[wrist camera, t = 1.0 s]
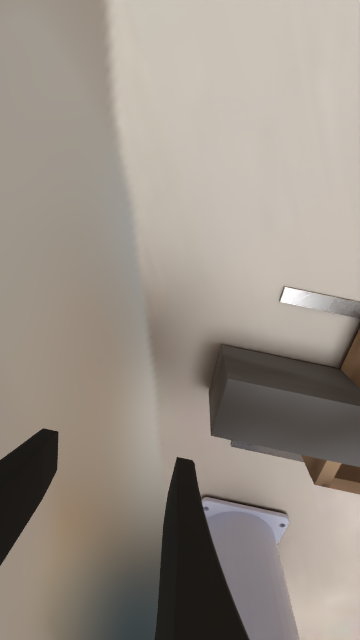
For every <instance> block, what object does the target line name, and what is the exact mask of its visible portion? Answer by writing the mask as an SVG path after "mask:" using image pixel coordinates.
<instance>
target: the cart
mask: <svg viewBox="0 0 360 640" xmlns="http://www.w3.org/2000/svg"><path fill="white" fill-rule="evenodd" d="M209 404H210V425H211V436H215V437H220V438H225V439H229V440H234V441H239V442H244V443H248V444H253V445H258V446H262V447H267V448H272V449H276V450H281V451H286V452H291V453H295V454H300V455H301V456H302V458H303V460H304V463H305V465H306V467H307V469H308V471H309V474H310V476H311V478H312V480H313V482H314V485H319V486H323V487H328V488H333V489H337V490H342V491H347V492H351V493H356V494H360V329H359V331H358V333H357V335H356V337H355V339H354V341H353V344H352V346H351V348H350V350H349V352H348V354H347V356H346V359H345V361H344V363H343V365H342V367H341V369H336V368H331V367H326V366H322V365H317V364H312V363H307V362H302V361H298V360H293V359H288V358H283V357H278V356H274V355H269V354H264V353H259V352H254V351H249V350H245V349H240V348H235V347H230V346H225V345H221V349H220V353H219V356H218V360H217V364H216V367H215V371H214V375H213V378H212V382H211V386H210V389H209Z"/></svg>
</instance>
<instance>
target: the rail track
mask: <svg viewBox="0 0 360 640" xmlns="http://www.w3.org/2000/svg"><path fill="white" fill-rule="evenodd" d="M280 302H283V303H288V304H293V305H298V306H303V307H307V308H312V309H317V310H322V311H327V312H332V313H337V314H342V315H346V316H351V317H356V318H360V302H357V301H352V300H347V299H342V298H338V297H333V296H328V295H323V294H318V293H313V292H308V291H303V290H298V289H294V288H289V287H284V289H283V292H282V295H281V298H280ZM231 447H236V448H240V449H245V450H250V451H255V452H259V453H264V454H269V455H273V456H278V457H283V458H287V459H292V460H297V461H301V462H304V460H303V458H302V456H301V455H300V454H295V453H291V452H286V451H281V450H276V449H272V448H267V447H262V446H258V445H253V444H248V443H244V442H239V441H234V440H232V443H231Z"/></svg>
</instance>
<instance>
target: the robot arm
mask: <svg viewBox="0 0 360 640" xmlns="http://www.w3.org/2000/svg"><path fill="white" fill-rule="evenodd" d="M57 456H58V432H57V431H53V430H48V429H42V430H40V431H39V432H37V433H36V434H35V435H33V436H32V437H31V438H30V439H28V440H27V441H25V442H24V443H23V444H21V445H20V446H19V447H18V448H16V449H15V450H13V451H12V452H11V453H9V454H8V455H7V456H5V457H4V458H3V459H1V460H0V565H1V564H2V562H3V561H4V559H5V557H6V556H7V554H8V553H9V551H10V550H11V548H12V547H13V545H14V543H15V542H16V540H17V539H18V537H19V535H20V534H21V532H22V531H23V529H24V527H25V526H26V524H27V523H28V521H29V520H30V518H31V516H32V515H33V513H34V512H35V510H36V509H37V507H38V505H39V504H40V502H41V500H42V499H43V497H44V495H45V493H46V491H47V489H48V487H49V485H50V483H51V481H52V479H53V477H54V475H55V473H56V471H57V459H58V457H57ZM288 524H289V518H288V516H287V515H286V514H283V513H279V512H274V511H269V510H265V509H260V508H255V507H251V506H246V505H242V504H237V503H232V502H228V501H223V500H218V499H214V498H209V497H205V498H203V499H202V501H201V496H200V492H199V488H198V483H197V477H196V471H195V463H194V462H193V461H192V460H188V459H184V458H179V457H177V459H176V463H175V467H174V471H173V475H172V479H171V483H170V488H169V492H168V497H167V504H166V510H165V517H164V524H163V538H162V552H161V553H162V554H161V568H160V585H159V599H158V612H157V625H156V632H155V640H300V639H299V635H298V631H297V626H296V622H295V618H294V614H293V610H292V606H291V602H290V598H289V594H288V589H287V585H286V581H285V577H284V573H283V569H282V565H281V561H280V556H279V552H278V548H277V545H278V543H279V541H280V539H281V537H282V535H283V534H284V532H285V530H286V528H287V526H288Z"/></svg>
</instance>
